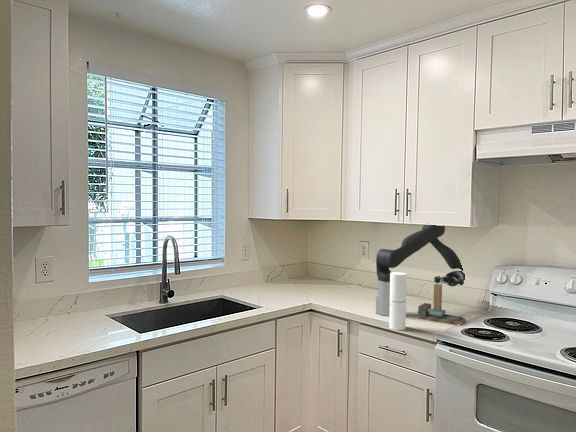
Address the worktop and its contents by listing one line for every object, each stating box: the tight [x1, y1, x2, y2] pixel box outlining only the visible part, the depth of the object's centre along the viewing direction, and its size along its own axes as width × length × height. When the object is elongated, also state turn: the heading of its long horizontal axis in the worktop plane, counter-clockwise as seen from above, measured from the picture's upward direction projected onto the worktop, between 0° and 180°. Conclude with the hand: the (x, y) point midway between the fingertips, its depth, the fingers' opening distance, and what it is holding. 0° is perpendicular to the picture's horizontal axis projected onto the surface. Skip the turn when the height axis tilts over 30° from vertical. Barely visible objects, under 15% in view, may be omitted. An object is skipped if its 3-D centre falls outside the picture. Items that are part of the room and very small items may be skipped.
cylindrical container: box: [388, 271, 407, 331], centre depth 195 cm, size 7×7×25 cm
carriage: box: [429, 283, 447, 316], centre depth 210 cm, size 6×7×14 cm
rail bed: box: [417, 302, 466, 326], centre depth 209 cm, size 20×9×6 cm, turn 53°
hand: (445, 282), depth 219 cm, fingers open, 8 cm apart
